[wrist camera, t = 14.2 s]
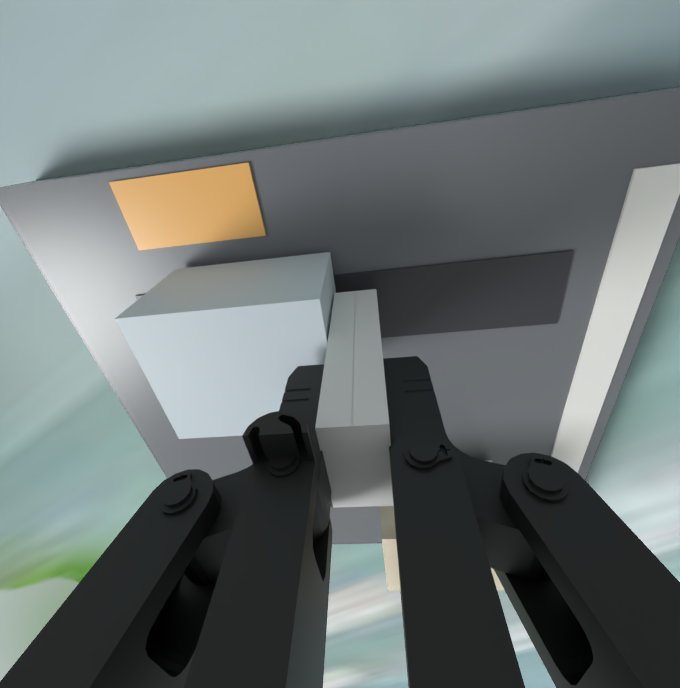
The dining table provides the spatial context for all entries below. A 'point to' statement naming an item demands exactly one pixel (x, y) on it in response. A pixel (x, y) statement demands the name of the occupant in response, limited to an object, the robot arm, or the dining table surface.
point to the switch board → (403, 261)
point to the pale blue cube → (230, 338)
